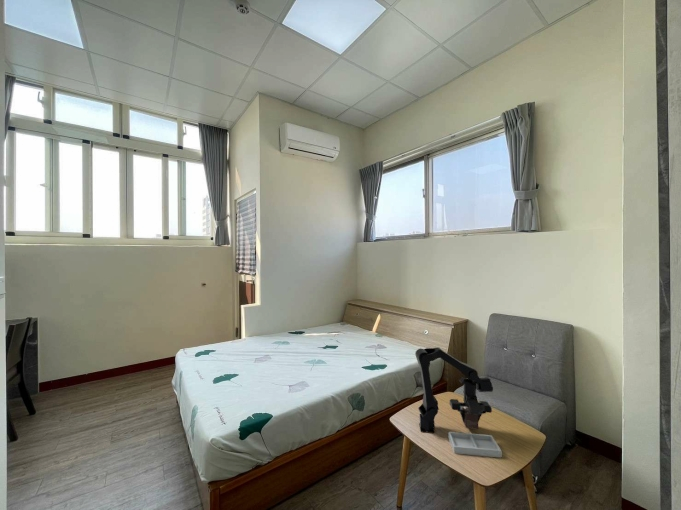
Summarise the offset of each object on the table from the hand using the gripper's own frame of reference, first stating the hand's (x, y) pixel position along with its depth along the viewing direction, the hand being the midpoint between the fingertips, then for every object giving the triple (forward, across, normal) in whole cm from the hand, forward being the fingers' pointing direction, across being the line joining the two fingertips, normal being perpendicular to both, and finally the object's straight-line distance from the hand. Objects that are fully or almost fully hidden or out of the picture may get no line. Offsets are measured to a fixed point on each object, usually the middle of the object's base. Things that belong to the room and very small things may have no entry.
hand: (470, 422), depth 137 cm
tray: (+3, -3, -14) cm, 15 cm away
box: (+2, 0, 0) cm, 2 cm away
